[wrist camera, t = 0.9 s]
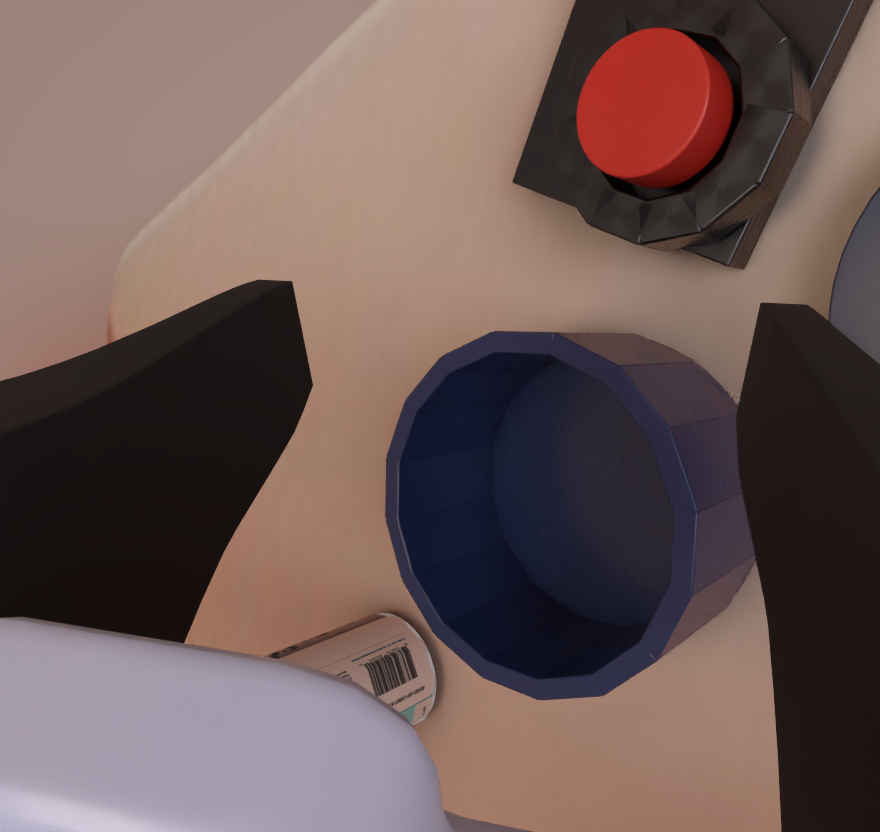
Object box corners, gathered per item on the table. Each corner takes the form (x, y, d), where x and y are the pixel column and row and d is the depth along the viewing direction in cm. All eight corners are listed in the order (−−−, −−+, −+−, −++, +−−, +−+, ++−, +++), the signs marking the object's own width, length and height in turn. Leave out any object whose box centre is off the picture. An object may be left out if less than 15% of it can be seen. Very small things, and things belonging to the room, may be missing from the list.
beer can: (370, 591, 33) (99, 685, 24) (452, 639, 30) (179, 769, 21) (356, 686, 34) (92, 813, 25) (434, 743, 31) (166, 909, 22)
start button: (637, 36, 20) (607, 14, 19) (760, 63, 18) (736, 41, 17) (587, 168, 22) (555, 155, 20) (697, 206, 20) (669, 196, 18)
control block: (651, -141, 22) (603, -196, 20) (952, -122, 18) (935, -192, 15) (530, 195, 26) (477, 181, 24) (754, 284, 21) (716, 277, 19)
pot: (834, 425, 20) (773, 445, 16) (675, 704, 24) (592, 779, 20) (544, 287, 26) (445, 276, 22) (451, 530, 29) (350, 560, 25)
